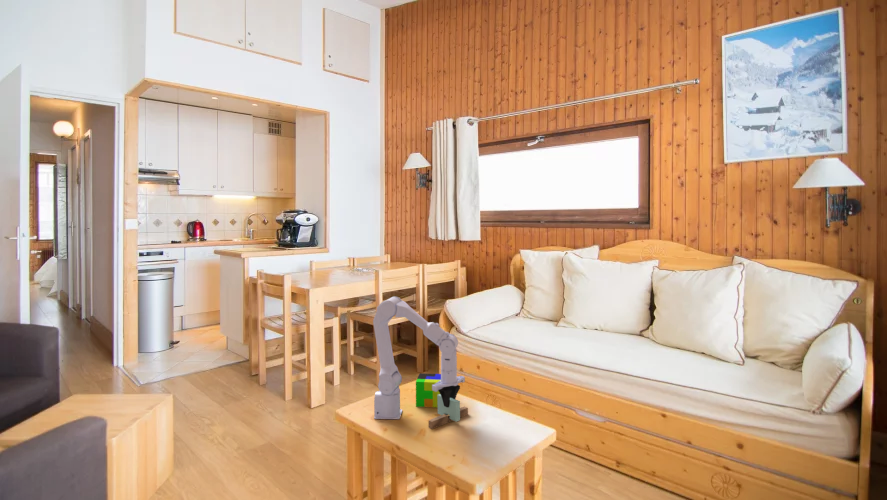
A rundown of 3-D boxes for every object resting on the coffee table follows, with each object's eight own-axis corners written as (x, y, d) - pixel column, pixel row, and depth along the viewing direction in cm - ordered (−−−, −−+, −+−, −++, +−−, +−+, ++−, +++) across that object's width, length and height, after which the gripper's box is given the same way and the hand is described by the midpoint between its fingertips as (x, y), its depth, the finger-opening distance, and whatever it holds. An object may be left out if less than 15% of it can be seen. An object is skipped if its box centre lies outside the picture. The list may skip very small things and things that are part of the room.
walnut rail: (431, 429, 162) (431, 421, 162) (428, 427, 163) (428, 420, 163) (467, 414, 174) (467, 407, 174) (464, 412, 176) (464, 406, 175)
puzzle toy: (443, 397, 191) (443, 374, 190) (441, 407, 181) (441, 382, 180) (419, 397, 192) (419, 373, 191) (415, 406, 182) (415, 381, 181)
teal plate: (460, 420, 166) (459, 401, 165) (456, 421, 165) (456, 402, 164) (441, 412, 173) (441, 393, 173) (437, 413, 172) (437, 394, 172)
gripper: (441, 376, 160) (441, 414, 161) (470, 367, 169) (470, 403, 170) (428, 371, 165) (428, 408, 166) (457, 362, 175) (457, 398, 176)
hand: (448, 405), depth 168 cm, fingers closed on teal plate, 2 cm apart
